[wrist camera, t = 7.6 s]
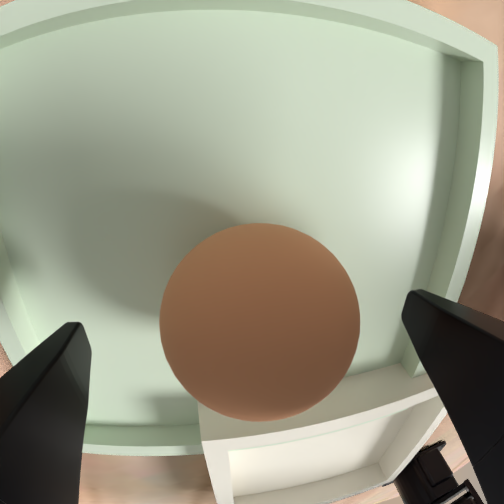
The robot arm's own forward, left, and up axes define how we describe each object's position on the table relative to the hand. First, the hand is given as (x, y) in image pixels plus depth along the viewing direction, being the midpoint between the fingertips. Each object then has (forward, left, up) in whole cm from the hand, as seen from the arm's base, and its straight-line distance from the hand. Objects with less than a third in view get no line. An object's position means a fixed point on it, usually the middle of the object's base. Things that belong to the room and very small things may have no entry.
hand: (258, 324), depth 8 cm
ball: (0, 0, 0) cm, 0 cm away
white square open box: (-13, -5, -3) cm, 14 cm away
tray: (0, 0, -3) cm, 3 cm away
